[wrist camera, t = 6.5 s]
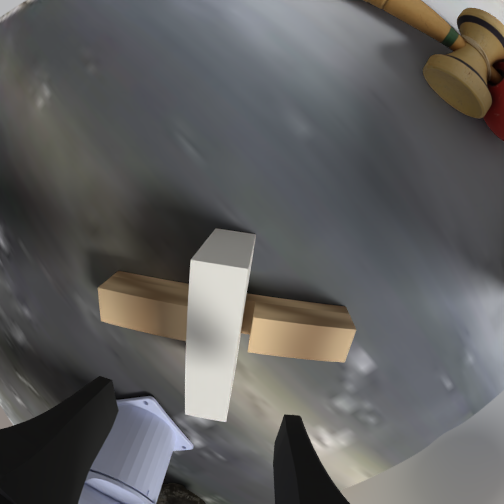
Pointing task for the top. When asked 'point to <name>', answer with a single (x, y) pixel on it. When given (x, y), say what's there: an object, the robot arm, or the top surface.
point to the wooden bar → (254, 321)
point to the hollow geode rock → (177, 495)
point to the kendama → (461, 58)
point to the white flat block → (215, 321)
